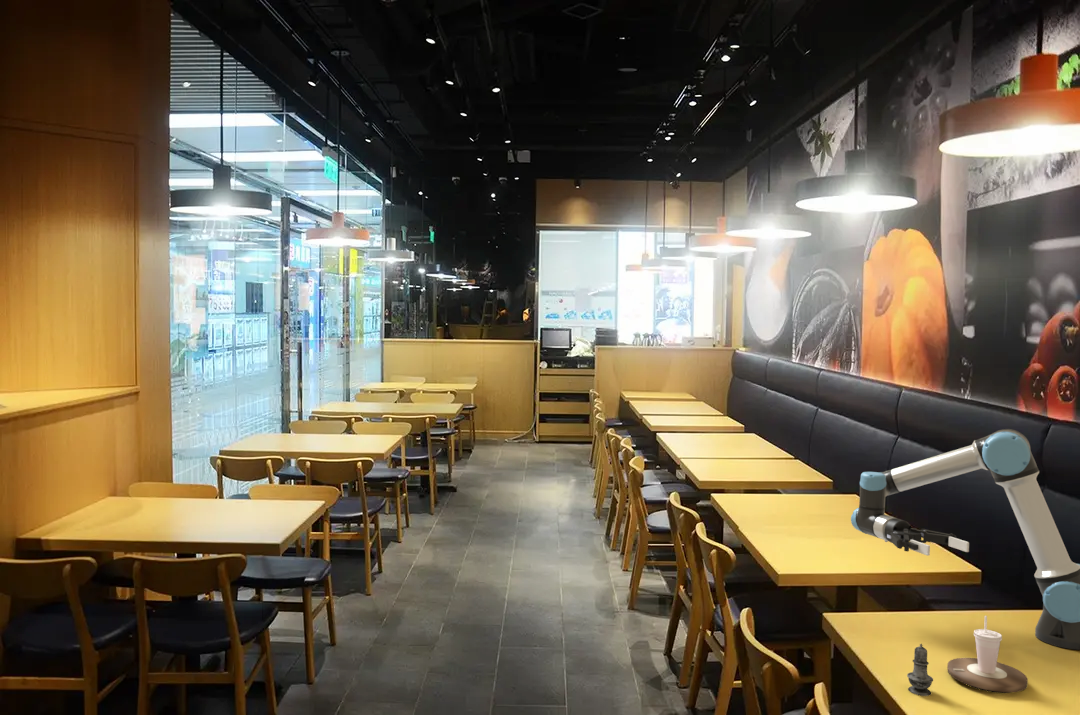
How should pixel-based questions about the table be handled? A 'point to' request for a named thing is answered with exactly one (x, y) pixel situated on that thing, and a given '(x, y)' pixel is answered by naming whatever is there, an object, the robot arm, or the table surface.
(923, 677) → the salt shaker
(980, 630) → the smoothie
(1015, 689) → the turntable
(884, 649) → the table surface
